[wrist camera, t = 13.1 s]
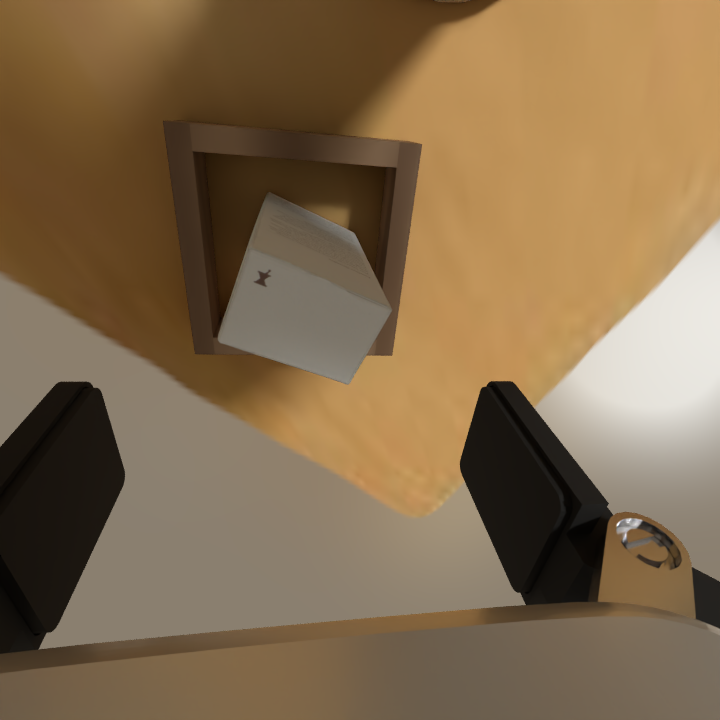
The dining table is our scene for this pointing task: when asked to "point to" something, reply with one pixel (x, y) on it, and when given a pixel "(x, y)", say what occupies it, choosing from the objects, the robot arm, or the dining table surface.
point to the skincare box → (304, 294)
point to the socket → (198, 138)
